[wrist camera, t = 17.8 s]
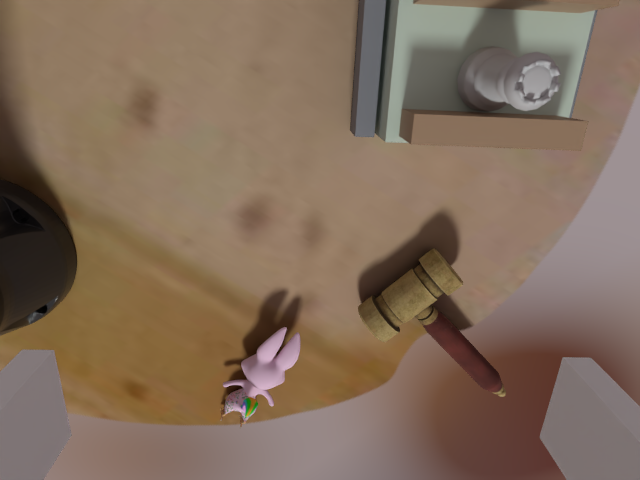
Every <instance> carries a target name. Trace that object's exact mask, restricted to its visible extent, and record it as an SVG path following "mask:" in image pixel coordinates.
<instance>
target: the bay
mask: <svg viewBox="0 0 640 480" xmlns="http://www.w3.org/2000/svg"><path fill="white" fill-rule="evenodd" d="M385 7H386V0H359V8H358V22H357V37H356V52H355V67H354V82H353V97H352V111H351V126H350V131H351V132H352V133H353V134H354V136H357V137H374V133H375V122H376V110H377V99H378V87H379V76H380V65H381V53H382V42H383V30H384V19H385ZM596 14H597V10H595V12H594V17H593V21H592V25H591V29H590V33H589V37H588V41H587V46H586V50H585V54H584V58H583V62H582V66H581V70H580V74H579V79H578V83H577V87H576V91H575V95H574V99H573V103H572V108H571V112H570V116H569V118H571V117H572V113H573V109H574V104H575V100H576V96H577V92H578V88H579V84H580V80H581V76H582V72H583V67H584V63H585V59H586V55H587V51H588V47H589V43H590V39H591V35H592V30H593V26H594V22H595V18H596Z"/></svg>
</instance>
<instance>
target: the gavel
mask: <svg viewBox="0 0 640 480" xmlns="http://www.w3.org/2000/svg"><path fill="white" fill-rule="evenodd" d="M419 261H420V263H421V264H420V265H418V266H417V267H416V268H414V269H413V268H412V269H411V270H409V271H408V272H407V273H405V274H404V275H403V276H402V277H400V278H399V279H398V280H396V281H395V282H394V283H393V284H391V285H390V286H389V287H387V288H386V289H385V290H384V291H382V294H381V295H380V296H378V297H377V298H376V297H375V296H371V297H370V298H368V299H367V300H366V301H365V302H363V303H362V304H361V305H359V306H358V311H359V315H360V317H361V319H362V321H363V322H364V324H365V325H366V327H367V328H368V329H369V331H370V332H371V333H372V334H373V335H374V336H375V337H376V338H377V339H379V340H380V341H383V342H387V341H388V340H389V339H391V338H392V337H393V336H395V335H396V334H397V333H399V332H400V328H399V326H400V325H402V324H403V323H407V322H408V321H410V320H411V319H412V318H414V317H416V318H417V319H418V320H419V321H420V322H421V323H422V325H423V326H424V328H425V329H426V331H427V332H428V333H429V334H430V335H431V336H432V337H433V338H434V339H435V340H436V341H437V342H438V344H439V345H440V346H441V347H442V348H443V349H444V350H445V351H446V352H447V353H449V355H450V356H451V357H452V358H453V359H454V360H455V361H456V362H457V363H458V364H459V365H460V366H461V367H462V368H463V369H464V370H465V371H466V372H467V373H468V374H469V375H470V376H471V377H472V378H473V379H474V380H475V381H476V382H477V383H478V384H479V385H480V386H481V387H482V388H483V389H485V390H488V391H491V392H492V393H494V394H498V395H499V396H500V397H504V396H505V395H506V391H505V389H504V387H503V384H502V383H501V379H500V376H499V373H498V372H497V371H496V370H495V369H494V368H493V367H492V366H491V365H490V363H489V362H488V361H487V360H486V359H485V358H484V357H483V356H482V355H481V354H480V353H479V352H478V351H477V350H476V348H475V347H474V346H473V345H472V344H471V343H470V342H469V341H468V340H467V339H466V338H465V337H464V336H463V335H462V333H461V332H460V331H459V330H458V329H457V328H456V327H455V326H454V325H453V324H452V323H451V322H450V321H449V319H448V318H447V317H446V316H445V315H443V314H442V313H441V312H439V311H438V310H436V308H435V307H434V306H433V305H432V303H434V302H435V301H436V300H438V299H437V298H438V297H439V296H440V295H442V294H443V293H445V294H446V295H448V296H449V295H450V294H451V293H453V292H454V291H455V290H457V289H458V288H459V287H461V286H462V285H463V281H462V280H461V278H460V277H459V276H458V275H457V273H456V272H455V271H454V270H453V268H452V267H451V266H450V265H449V264H448V262H447V261H446V260H445V259H444V258H443V257H442V255H441V254H440V253H439V252H438V251H437V250H436V249H431V250H430V251H429V252H427V253H426V254H425V255H424V256H422V257H421V258H420V259H419Z"/></svg>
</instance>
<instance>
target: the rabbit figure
mask: <svg viewBox="0 0 640 480" xmlns="http://www.w3.org/2000/svg"><path fill="white" fill-rule="evenodd" d="M286 330H287V327H283V328H281V329H280V330H278V331H277V332H276V333H274V334H273V335H272V336H271V337H269V338H268V339H267V340H266V341H265V342H264V343H263V344H262V345H260V346H259V348H258V349H257V354H255V355H252V356H250V357H249V358H247V359H245V360H243V361H242V362H241V367H242V369H243V372H244V374H245V376H246V377H247V379H248V380H233V381H227V382H224V383H223V386H224V387H228V386H231V385H241V386H242V387H243V389H239V390H237V391H234V392H232V393H230V394H229V395H228V397H227V399H226V401H225V407H224V409H223V410H222V408H221V417H222V418H223V416H225V415H226V414H227V413H229V412H231V411H233V410H234V411H239V412H241V414H242V417H241V416H239V417H240V422H241V423H240V424H241V426H242V424H243V423H244V424H245V423H246V421H247V419H248V418H249V417H250V416H251V415H252V414H253V413H254V412H255V411H256V409H257V406H258V403H257V400H256V395H258V394H262V395H264V396H265V397H266V398H267V399H268V402H269V405H270V406H273V405H274V401H273V399H272V397H271V395H270V394H269V393H268V391H267V390H266V389H271V388H273V387H275V386H277V385H280V384H282V383H283V382H284V380H285V370H287V369H289V368H291V367H292V366H293V365H294V364H295V363H296V361H297V358H298V356H299V352H300V335H299V333H298V332H297V333H296V334H295V335H294V336H293V337H292V338H291V339H290V340H289V341H288V343H287V344H286V345H285V346H284V348H283V349H282V350H281V351H280V353H279V354H278V356H276V353H277V351H278V350H279V348H280V346H281V345H282V342H283V340H284V336H285V333H286ZM222 418H221V420H222ZM241 426H240V428H241Z"/></svg>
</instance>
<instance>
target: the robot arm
mask: <svg viewBox="0 0 640 480" xmlns="http://www.w3.org/2000/svg"><path fill="white" fill-rule="evenodd" d="M76 266H77V262H76V253H75V248H74V245H73V242H72V239H71V237H70V235H69V233H68V231H67V229H66V227H65V226H64V224H63V223H62V221H61V220H60V218H59V217H58V216H57V215H56V214H55V212H54V211H53V210H52V209H51V208H50V207H49V206H48V205H47V204H45V203H44V202H43V201H42V200H41V199H39V198H38V197H36V196H35V195H34V194H32V193H30V192H29V191H27V190H25V189H23V188H21V187H19V186H17V185H15V184H13V183H10V182H7V181H4V180H0V335H3V334H6V333H8V332H11V331H14V330H16V329H19V328H21V327H24V326H27V325H29V324H32V323H34V322H36V321H38V320H40V319H41V318H43V317H44V316H46V315H47V314H48V313H50V312H51V311H52V310H53V309H54V308H55V307H56V306H57V305H58V304H59V303H60V302H61V301H62V300H63V299H64V298H65V297H66V295H67V294H68V293H69V291H70V289H71V287H72V285H73V282H74V279H75V275H76ZM70 437H71V430H70V425H69V420H68V416H67V411H66V406H65V401H64V396H63V391H62V387H61V382H60V377H59V372H58V367H57V363H56V358H55V353H54V350H21V351H20V352H19V353H18V354H17V355H16V356H15V357H14V358H13V359H12V360H11V361H10V362H9V363H8V364H7V365H6V367H5V368H4V369H3V370H2V371H1V372H0V480H44V478H45V476H46V475H47V473H48V472H49V470H50V469H51V467H52V465H53V464H54V462H55V461H56V459H57V457H58V456H59V454H60V453H61V451H62V450H63V448H64V446H65V445H66V443H67V441H68V440H69V438H70ZM540 439H541V440H542V442H543V443H544V445H545V446H546V448H547V449H548V451H549V453H550V454H551V456H552V457H553V459H554V460H555V462H556V464H557V465H558V467H559V468H560V470H561V471H562V473H563V474H564V476H565V478H566V479H567V480H640V407H639V406H638V405H637V403H635V401H634V400H633V399H631V397H630V396H628V395H627V393H626V392H625V391H623V390H622V388H621V387H620V386H619V385H617V383H616V382H614V380H613V379H612V378H611V377H609V375H608V374H607V373H606V372H605V371H604V370H602V369H601V367H600V366H599V365H597V364H596V362H595V361H594V360H593V359H591V358H564V357H563V359H562V362H561V366H560V369H559V373H558V376H557V380H556V383H555V387H554V390H553V393H552V397H551V400H550V403H549V407H548V411H547V414H546V417H545V421H544V424H543V427H542V431H541V434H540Z"/></svg>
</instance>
